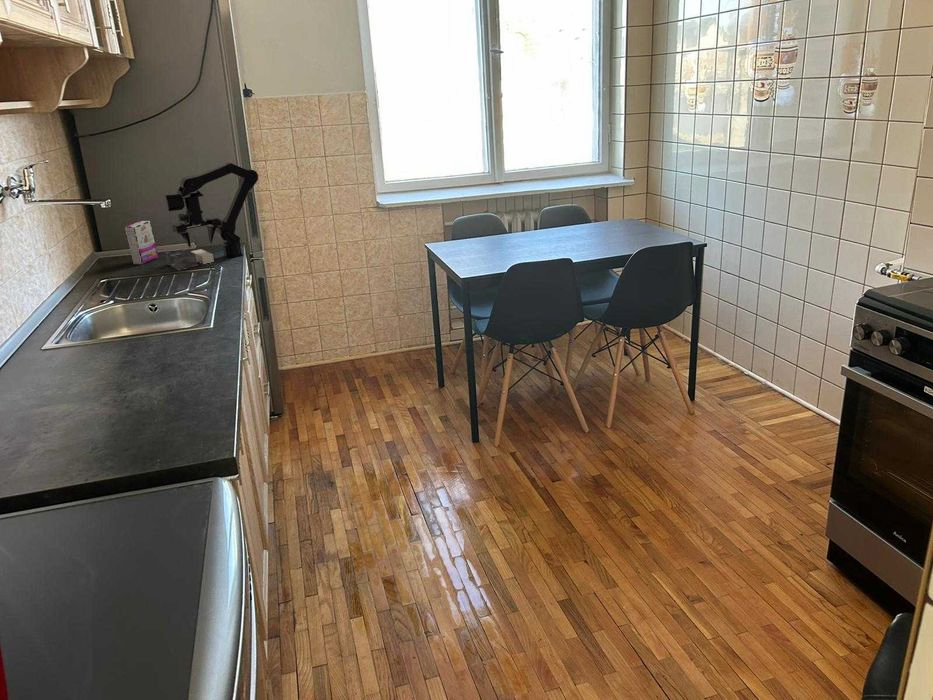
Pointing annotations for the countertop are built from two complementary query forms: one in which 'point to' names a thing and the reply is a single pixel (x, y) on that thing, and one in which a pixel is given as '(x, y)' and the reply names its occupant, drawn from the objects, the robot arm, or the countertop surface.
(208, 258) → the clay block
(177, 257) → the dark grey angular piece
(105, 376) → the countertop surface
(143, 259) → the candy bar box
